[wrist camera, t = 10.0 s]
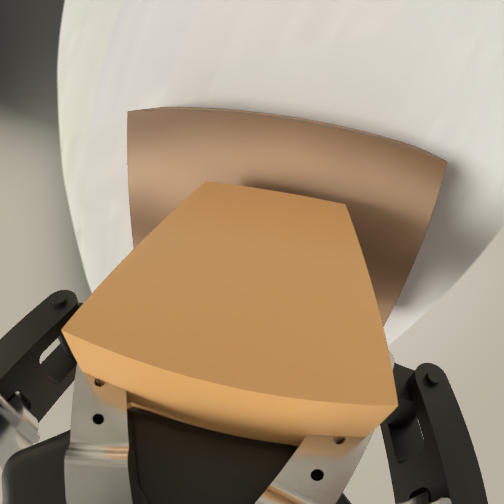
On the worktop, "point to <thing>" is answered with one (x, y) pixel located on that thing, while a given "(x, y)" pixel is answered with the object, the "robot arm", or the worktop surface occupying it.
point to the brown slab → (289, 176)
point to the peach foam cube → (244, 320)
